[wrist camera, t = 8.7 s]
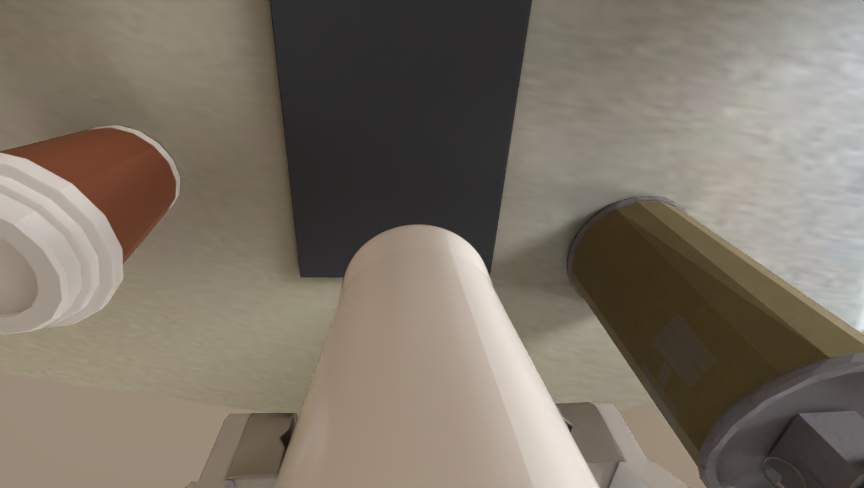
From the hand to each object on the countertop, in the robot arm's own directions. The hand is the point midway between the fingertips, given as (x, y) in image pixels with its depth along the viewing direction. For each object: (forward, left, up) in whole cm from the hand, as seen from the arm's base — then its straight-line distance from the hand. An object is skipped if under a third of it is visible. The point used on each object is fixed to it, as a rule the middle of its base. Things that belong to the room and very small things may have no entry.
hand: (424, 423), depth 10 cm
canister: (+8, +19, -22) cm, 30 cm away
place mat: (0, 0, -21) cm, 21 cm away
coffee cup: (+2, -18, -22) cm, 28 cm away
